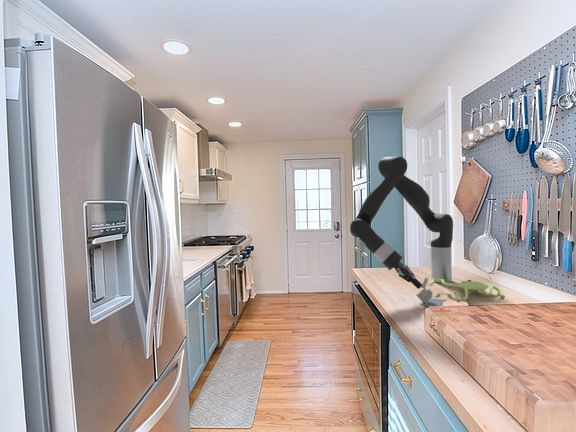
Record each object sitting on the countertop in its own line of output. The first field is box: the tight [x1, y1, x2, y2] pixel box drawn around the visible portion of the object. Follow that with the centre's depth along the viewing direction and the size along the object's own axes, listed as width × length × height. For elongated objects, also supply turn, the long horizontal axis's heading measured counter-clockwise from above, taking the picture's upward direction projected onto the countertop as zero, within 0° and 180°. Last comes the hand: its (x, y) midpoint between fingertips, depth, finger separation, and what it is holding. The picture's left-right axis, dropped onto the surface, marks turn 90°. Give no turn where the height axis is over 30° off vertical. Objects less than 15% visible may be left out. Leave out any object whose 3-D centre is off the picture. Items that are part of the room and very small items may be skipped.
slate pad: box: [425, 297, 448, 308], centre depth 129 cm, size 11×15×1 cm
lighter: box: [415, 276, 434, 304], centre depth 132 cm, size 7×2×8 cm
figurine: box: [428, 279, 504, 301], centre depth 142 cm, size 18×27×6 cm
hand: (420, 287), depth 133 cm, fingers closed
